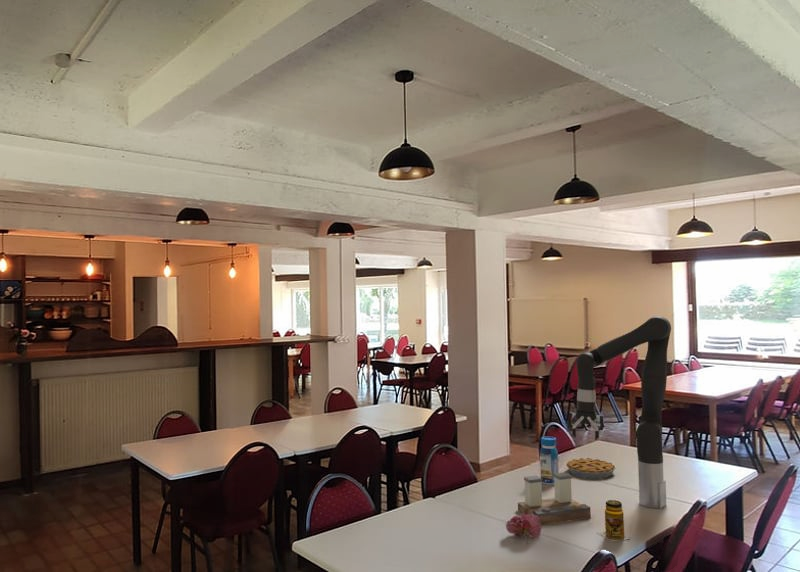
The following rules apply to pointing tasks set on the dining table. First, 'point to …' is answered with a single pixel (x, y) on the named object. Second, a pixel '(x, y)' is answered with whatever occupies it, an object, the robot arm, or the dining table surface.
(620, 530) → the condiment
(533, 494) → the plunger
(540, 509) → the button board
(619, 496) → the dining table surface
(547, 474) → the beverage bottle
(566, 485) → the marked plunger
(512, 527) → the flower
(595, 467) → the pie
